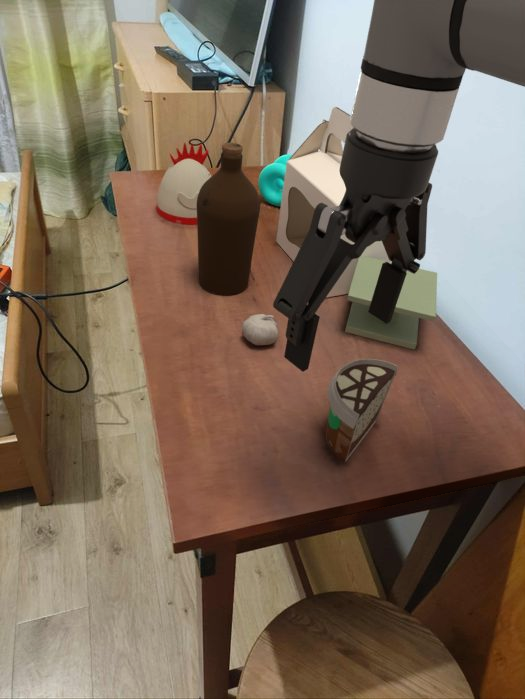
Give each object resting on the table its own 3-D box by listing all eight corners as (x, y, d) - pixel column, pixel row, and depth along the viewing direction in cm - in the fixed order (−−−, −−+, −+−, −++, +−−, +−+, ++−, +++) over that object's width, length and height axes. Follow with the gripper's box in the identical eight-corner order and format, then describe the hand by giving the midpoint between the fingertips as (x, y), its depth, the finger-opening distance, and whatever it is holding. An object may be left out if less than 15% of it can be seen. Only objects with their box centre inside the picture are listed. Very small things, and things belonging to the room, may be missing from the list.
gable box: (383, 289, 99) (429, 142, 81) (325, 299, 94) (359, 146, 76) (328, 234, 114) (356, 100, 96) (274, 241, 109) (293, 101, 91)
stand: (423, 309, 95) (437, 272, 90) (420, 355, 85) (435, 316, 80) (349, 291, 97) (359, 254, 92) (338, 333, 87) (348, 295, 82)
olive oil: (241, 303, 90) (254, 164, 74) (185, 288, 92) (187, 149, 76) (258, 274, 98) (274, 142, 82) (207, 261, 100) (213, 129, 84)
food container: (343, 394, 76) (358, 343, 69) (380, 415, 73) (400, 363, 67) (299, 445, 68) (312, 392, 61) (339, 469, 65) (357, 417, 59)
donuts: (307, 198, 127) (314, 158, 121) (292, 213, 120) (298, 171, 114) (271, 188, 130) (276, 148, 123) (254, 201, 123) (258, 160, 116)
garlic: (280, 334, 85) (284, 309, 81) (273, 355, 81) (277, 329, 77) (246, 326, 86) (248, 301, 82) (237, 346, 81) (239, 320, 78)
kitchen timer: (223, 224, 112) (227, 156, 102) (159, 225, 109) (157, 155, 99) (213, 196, 122) (215, 132, 113) (154, 196, 119) (152, 130, 109)
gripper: (439, 105, 50) (383, 286, 64) (246, 143, 36) (228, 364, 50) (509, 129, 46) (433, 316, 60) (323, 182, 32) (280, 410, 46)
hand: (340, 338), depth 55 cm, fingers open, 13 cm apart
